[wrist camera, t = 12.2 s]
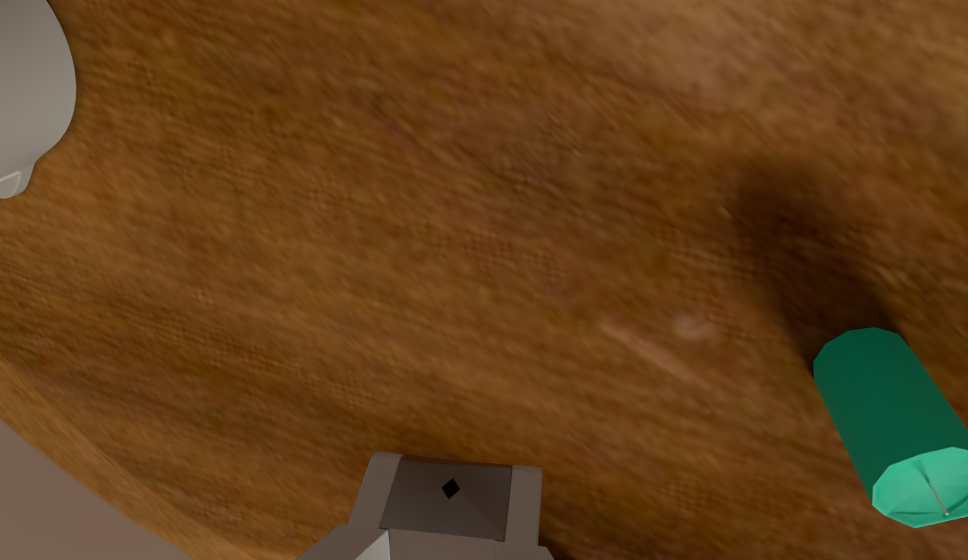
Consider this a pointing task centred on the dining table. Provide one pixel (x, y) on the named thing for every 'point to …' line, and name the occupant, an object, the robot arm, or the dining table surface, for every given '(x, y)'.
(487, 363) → the dining table surface
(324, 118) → the dining table surface
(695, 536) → the dining table surface
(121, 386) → the dining table surface
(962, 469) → the candle
